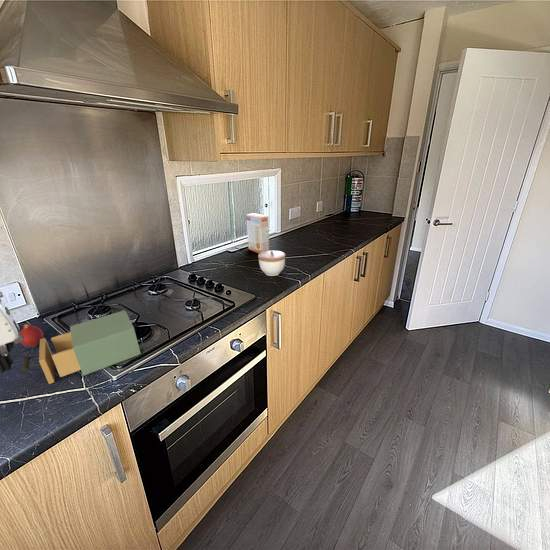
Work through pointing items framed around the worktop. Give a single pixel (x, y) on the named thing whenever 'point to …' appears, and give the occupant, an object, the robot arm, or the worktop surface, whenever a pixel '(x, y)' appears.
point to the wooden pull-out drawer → (54, 358)
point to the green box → (104, 342)
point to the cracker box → (257, 232)
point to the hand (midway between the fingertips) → (6, 368)
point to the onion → (31, 335)
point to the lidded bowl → (272, 262)
